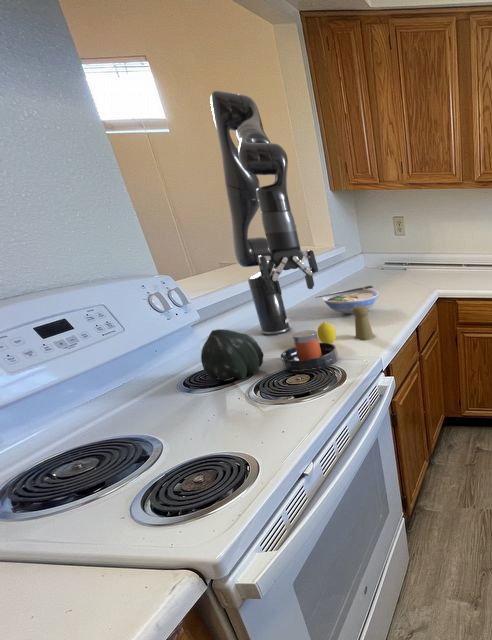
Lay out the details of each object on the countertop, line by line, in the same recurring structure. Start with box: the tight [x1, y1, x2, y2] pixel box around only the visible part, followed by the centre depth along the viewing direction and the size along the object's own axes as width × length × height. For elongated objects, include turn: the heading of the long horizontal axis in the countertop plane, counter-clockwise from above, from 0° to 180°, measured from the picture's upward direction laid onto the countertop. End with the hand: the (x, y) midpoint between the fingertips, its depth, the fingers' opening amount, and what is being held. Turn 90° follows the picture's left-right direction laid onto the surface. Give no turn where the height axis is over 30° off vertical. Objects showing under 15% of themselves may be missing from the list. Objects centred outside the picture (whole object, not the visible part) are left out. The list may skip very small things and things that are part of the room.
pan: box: [280, 342, 339, 373], centre depth 123 cm, size 15×15×4 cm
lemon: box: [316, 321, 337, 344], centre depth 137 cm, size 6×6×8 cm
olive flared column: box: [352, 306, 375, 341], centre depth 143 cm, size 6×6×11 cm
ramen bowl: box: [315, 285, 380, 315], centre depth 175 cm, size 25×23×8 cm
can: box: [292, 329, 322, 360], centre depth 122 cm, size 6×6×9 cm
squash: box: [200, 328, 264, 382], centre depth 115 cm, size 14×15×15 cm
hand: (295, 291), depth 115 cm, fingers open, 8 cm apart
